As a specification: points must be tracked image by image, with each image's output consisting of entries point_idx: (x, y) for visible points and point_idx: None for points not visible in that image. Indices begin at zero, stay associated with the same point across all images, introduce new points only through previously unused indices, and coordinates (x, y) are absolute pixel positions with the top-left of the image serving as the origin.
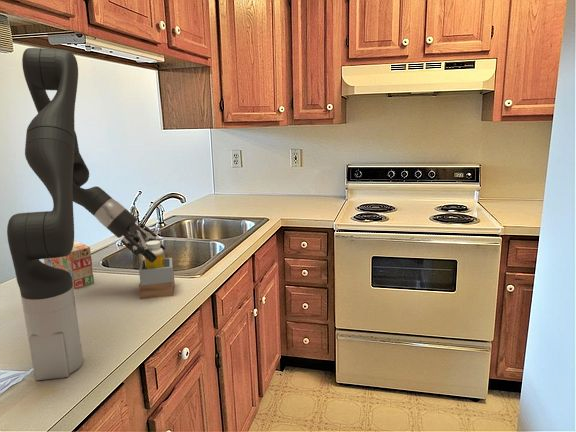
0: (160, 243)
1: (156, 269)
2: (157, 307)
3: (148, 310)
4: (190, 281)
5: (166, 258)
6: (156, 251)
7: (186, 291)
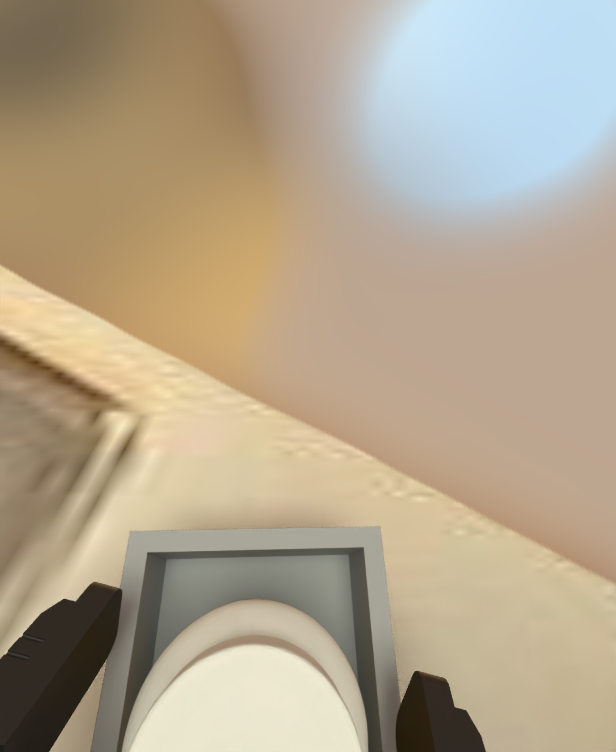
0: (44, 650)
1: (394, 668)
2: (478, 640)
3: (512, 694)
4: (180, 462)
5: (136, 581)
6: (344, 690)
7: (307, 487)
